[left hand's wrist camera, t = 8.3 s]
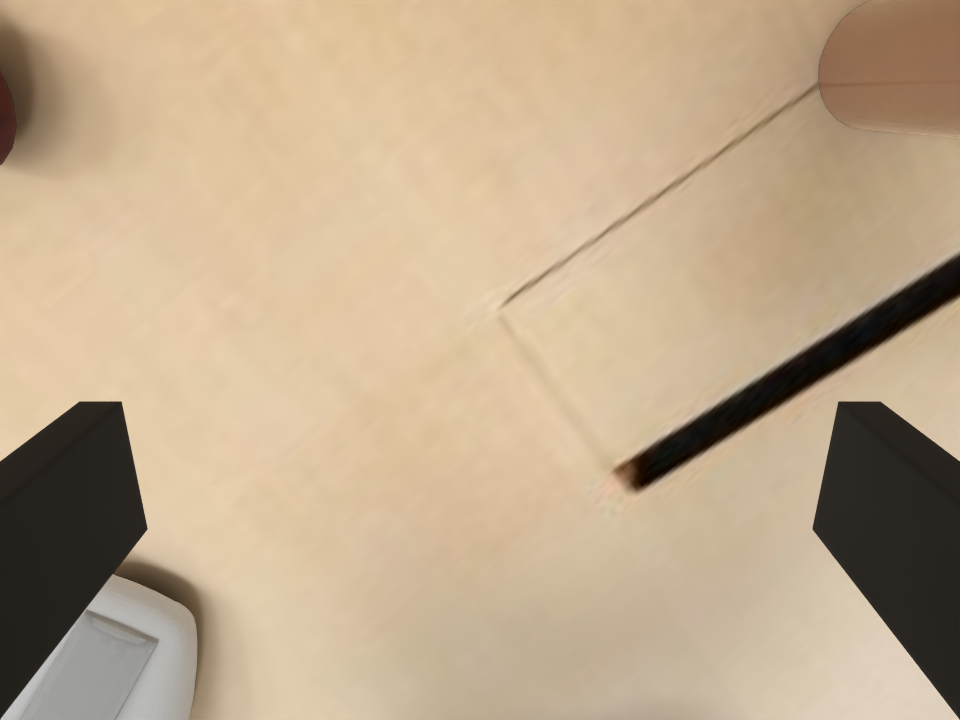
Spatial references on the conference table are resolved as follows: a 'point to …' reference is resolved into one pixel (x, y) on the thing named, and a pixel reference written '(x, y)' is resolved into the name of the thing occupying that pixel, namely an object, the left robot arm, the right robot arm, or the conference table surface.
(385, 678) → the conference table surface
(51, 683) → the projector
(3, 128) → the maroon ball
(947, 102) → the bottle
